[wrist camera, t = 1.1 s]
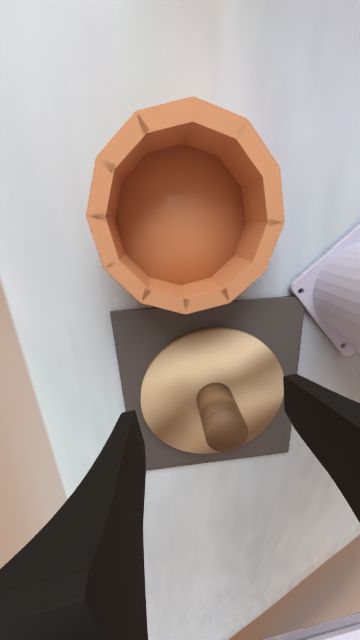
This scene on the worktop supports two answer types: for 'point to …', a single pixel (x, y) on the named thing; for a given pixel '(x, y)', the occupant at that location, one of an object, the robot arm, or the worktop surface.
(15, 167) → the worktop surface
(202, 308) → the bowl
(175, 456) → the mat
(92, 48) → the worktop surface
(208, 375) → the lid
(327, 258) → the robot arm
